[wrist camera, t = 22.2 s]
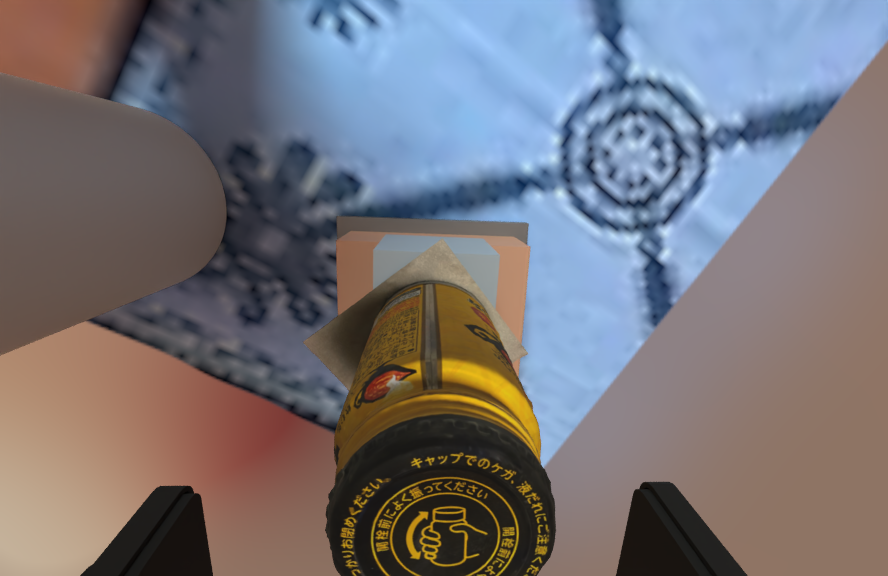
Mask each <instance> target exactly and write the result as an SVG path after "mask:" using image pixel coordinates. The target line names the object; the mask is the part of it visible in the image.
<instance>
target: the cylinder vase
mask: <svg viewBox="0 0 888 576" xmlns="http://www.w3.org/2000/svg"><path fill="white" fill-rule="evenodd" d="M226 217H227V208H226V199H225V194H224V189H223V186H222V183H221V180H220V177H219V175H218V173H217V171H216V169H215V167H214V165H213V163H212V162H211V160H210V159H209V157H208V156H207V154H206V153H205V151H204V150H203V149H202V148H201V147H200V145H199V144H198V143H197V142H196V141H195V140H194V139H193V138H192V137H191V136H190V135H189V134H187V133H186V132H185V131H184V130H182V129H181V128H180V127H178V126H177V125H175V124H174V123H172V122H171V121H169V120H167V119H165V118H164V117H162V116H159V115H157V114H155V113H152V112H150V111H147V110H144V109H140V108H136V107H133V106H129V105H125V104H121V103H117V102H113V101H109V100H105V99H101V98H98V97H94V96H90V95H86V94H82V93H78V92H74V91H70V90H66V89H63V88H59V87H55V86H51V85H47V84H43V83H39V82H35V81H31V80H27V79H24V78H20V77H16V76H12V75H8V74H4V73H0V355H2V354H5V353H7V352H10V351H12V350H15V349H17V348H20V347H22V346H25V345H27V344H30V343H32V342H34V341H37V340H39V339H42V338H44V337H47V336H49V335H52V334H54V333H57V332H59V331H61V330H64V329H66V328H69V327H71V326H74V325H76V324H79V323H81V322H84V321H86V320H89V319H91V318H94V317H96V316H99V315H101V314H104V313H106V312H108V311H111V310H113V309H116V308H118V307H121V306H123V305H126V304H128V303H131V302H133V301H136V300H138V299H141V298H143V297H145V296H148V295H150V294H153V293H155V292H158V291H160V290H163V289H165V288H168V287H170V286H173V285H175V284H177V283H180V282H182V281H184V280H186V279H188V278H190V277H192V276H193V275H195V274H196V273H198V272H199V271H200V270H201V269H202V268H204V267H205V266H206V265H207V263H208V262H209V261H210V260H211V259H212V257H213V256H214V254H215V253H216V251H217V249H218V248H219V245H220V243H221V241H222V238H223V235H224V231H225V226H226Z"/></svg>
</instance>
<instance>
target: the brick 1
mask: <svg viewBox="0 0 888 576" xmlns="http://www.w3.org/2000/svg"><path fill="white" fill-rule="evenodd" d="M442 238H443V239H444V241H445V242H446V243H447V245H448V246H449V248H450V249H451V250H452V252H453V253H454V254H455V256H456V257H457V258H458V260H459V261H460V262H461V264H462V265H463V266H464V267H465V269H466V270H467V272H468V273H469V274H470V276H471V277H472V278H473V280H474V281H475V282H476V284H477V285H478V287H479V288H480V289H481V291H482V292H483V293H484V295H485V296H486V297H487V299H488V300H489V301H490V303H491V304H492V305H493V307H494V308H495V309H496V297H497V285H498V274H499V262H500V255H499V254H498V253H497V252H496V251H495V250H494V249H493V248H492V247H491V246H490V245H489V244H488V243H487V242H486V241H485V240H484V239H482V238H459V237H437V236H414V235H392V234H386V235H385V236H384V237H383V238H382V240H381V241H380V242H379V243H378V245H377V246H376V247H375V248H374V250H373V289H375V288H376V287H377V286H379V285H380V284H381V283H383V282H384V281H385V280H387V279H388V278H389V277H390V276H392V275H393V274H395V273H396V272H397V271H399V270H400V269H402V268H403V267H405V266H406V265H407V264H408V263H410V262H411V261H412V260H414V259H415V258H416V257H418V256H419V255H420V254H422V253H423V252H425V251H426V250H427V249H429V248H430V247H431V246H433V245H434V244H435V243H437V242H438V241H439V240H441V239H442Z"/></svg>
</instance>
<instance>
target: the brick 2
mask: <svg viewBox="0 0 888 576" xmlns="http://www.w3.org/2000/svg"><path fill="white" fill-rule="evenodd" d="M386 234H392V235H414V236H437V237H459V238H482V239H484V240H485V241H486V242H487V243H488V244H489V245H490V246H491V247H492V248H493V249H494V250H495V251H496V252H497V253H498V254H499V255H500V262H499V274H498V285H497V297H496V311H497V312H498V313H499V315H500V316H501V317H502V319H503V320H504V322H505V323H506V324H507V326H508V327H509V328H510V330H511V331H512V332H513V334H514V335H515V336H516V338H517V339H518V341H519V342H520V343H522V332H523V321H524V310H525V300H526V289H527V278H528V268H529V257H530V246H528V245H526V244H525V243H523V242H522V241H520V240H518V239H517V238H515V237H508V236H479V235H451V234H423V233H395V232H366V231H350V232H348V233H347V234H345V235H344V236H342V237H341V238H339V239H337V240H336V257H337V296H338V315H340V314H341V313H342V312H344V311H345V310H347V309H348V308H349V307H351V306H352V305H354V304H355V303H356V302H358V301H359V300H360V299H362V298H363V297H364V296H365V295H367V294H368V293H369V292H371V291H372V290H373V250H374V248H375V247H376V246H377V245H378V243H379V242H380V241H381V240H382V238H383V237H384V236H385V235H386ZM512 364H513V368H514V370H515V372H516V375H517V376H518V375H519V364H520V359H518V360H517V361H515V362H514V363H512Z"/></svg>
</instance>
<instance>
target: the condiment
mask: <svg viewBox="0 0 888 576" xmlns="http://www.w3.org/2000/svg"><path fill="white" fill-rule="evenodd" d="M303 343H304V344H305V345H306V346H307V347H308V348H309V349H310V351H311V352H312V353H314V354H315V355H316V356H317V357H318V358H319V359H320V360H321V361H322V362H323V363H324V364H325V365H326V367H327V368H328V369H329V370H330V371H331V372H332V373H333V374H334V375H335V376H336V377H337V378H338V379H339V380H340V381H341V382H342V383H343V385H344V386H345V387H346V388H347V389H348V390H349V393H348V395H347V398H346V401H345V404H344V406H343V410H342V412H341V415H340V418H339V421H338V424H337V428H336V430H335V439H334V445H335V446H334V454H335V461H336V465H337V469H336V478H335V486H334V488H333V489H332V490H331V492H330V493H329V497H328V498H329V504H328V506H327V509H326V517H327V524H326V529H325V531H326V533H327V537H328V538H329V542H330V549H331V550H332V557H333V561H334V565H335V568H336V570H337V571H338V573H339V574H340V575H341V576H537V574H538V573H539V571H540V570H541V568H542V566H543V565H544V564H545V563H546V562H547V561H548V559H549V558H550V556H551V553H552V550H553V546H554V541H555V532H556V524H555V502H554V498H553V495H552V493H551V482H550V480H549V478H548V476H547V474H546V472H545V469H544V468H543V467H542V466H541V461H540V450H541V439H540V431H539V425H538V422H537V419H536V417H535V415H534V413H533V405H532V403H531V401H530V400H529V399H528V397H527V395H526V393H525V392H524V389H523V387H522V384H521V382H520V381H519V378H518V376H517V375H516V372H515V370H514V368H513V364H512V363H514V362H515V361H517V360H518V359H520V358H521V357H523V356H525V355H527V354H528V353H527V351H526V350H525V349H524V347H523V346H522V345H521V343H520V342H519V341H518V339H517V338H516V336H515V335H514V334H513V332H512V331H511V330H510V328H509V327H508V326H507V324H506V323H505V322H504V320H503V319H502V317H501V316H500V315H499V313H498V312H497V311H496V309H495V308H494V307H493V305H492V304H491V303H490V301H489V300H488V299H487V297H486V296H485V295H484V293H483V292H482V291H481V289H480V288H479V287H478V285H477V284H476V282H475V281H474V280H473V278H472V277H471V276H470V274H469V273H468V272H467V270H466V269H465V267H464V266H463V265H462V264H461V262H460V261H459V260H458V258H457V257H456V256H455V254H454V253H453V252H452V250H451V249H450V248H449V246H448V245H447V243H446V242H445V241H444V239H443V238H442V239H441V240H439V241H438V242H437V243H435V244H434V245H433V246H431V247H430V248H429V249H427V250H426V251H425V252H423V253H422V254H420V255H419V256H418V257H416V258H415V259H414V260H412V261H411V262H410V263H408V264H407V265H406V266H405V267H403V268H402V269H400V270H399V271H397V272H396V273H395V274H393V275H392V276H390V277H389V278H388V279H387V280H385V281H384V282H383V283H381V284H380V285H379V286H377V287H376V288H375V289H373V290H372V291H371V292H369V293H368V294H367V295H365V296H364V297H363V298H362V299H360V300H359V301H358V302H356V303H355V304H354V305H352V306H351V307H349V308H348V309H347V310H345V311H344V312H342V313H341V314H340V315H338V316H337V317H336V318H334V319H333V320H332V321H330V322H329V323H328V324H326V325H325V326H324V327H323V328H321V329H320V330H319V331H317V332H316V333H315V334H313V335H312V336H311V337H309V338H308V339H306V340H305V341H304V342H303Z"/></svg>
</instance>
